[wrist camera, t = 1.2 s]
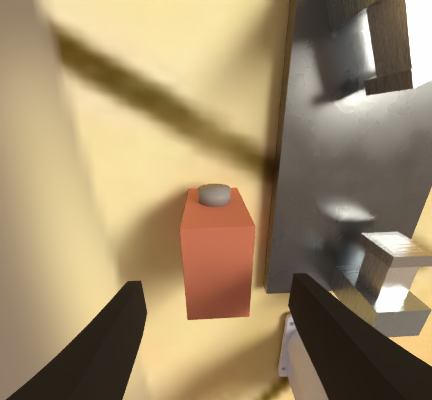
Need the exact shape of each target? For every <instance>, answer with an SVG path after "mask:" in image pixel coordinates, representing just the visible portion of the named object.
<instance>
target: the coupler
mask: <svg viewBox="0 0 432 400" xmlns="http://www.w3.org/2000/svg"><path fill="white" fill-rule="evenodd" d="M180 237H181V249H182V261H183V272H184V284H185V295H186V307H187V319H188V320H196V319H214V318H232V317H249V312H250V297H251V283H252V268H253V253H254V238H255V225H254V223H253V220H252V218H251V216H250V214H249V212H248V210H247V208H246V206H245V204H244V202H243V199H242V197H241V195H240V193H239V191H238V189H237V188H230V187H229V186H227V185H223V184H207V185H203V186H201V187H199V188H198V189H189V190H188V195H187V199H186V204H185V208H184V212H183V217H182V221H181V226H180Z"/></svg>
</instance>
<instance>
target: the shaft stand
mask: <svg viewBox="0 0 432 400" xmlns="http://www.w3.org/2000/svg"><path fill="white" fill-rule="evenodd" d="M431 187H432V0H290V8H289V18H288V29H287V40H286V50H285V61H284V71H283V82H282V93H281V103H280V114H279V125H278V135H277V146H276V156H275V167H274V178H273V188H272V199H271V209H270V220H269V231H268V241H267V252H266V263H265V273H264V284H263V286H264V288H265V291H266V294H271V293H290V292H291V285H292V279H293V273H307V274H308V275H309V276H310V277H312V278H313V279H314V280H315V281H316V282H318V283H319V284H320V285H321V286H322V287H323V288H325V289H326V290H327V291H331V290H332V291H333V292H334V294H335V295H336V296H337V298H338V299H339V300H340V302H342V303H343V304H344V305H345V306H346V307H348V308H349V309H350V310H351V311H353V312H354V313H355V314H357V315H358V316H359V317H360V318H362V319H363V320H364V321H366V322H367V323H368V324H370V325H371V326H372V327H374V328H375V329H376V330H378V331H379V332H381V333H382V334H383V335H385V336H386V337H400V336H417V335H419V333H420V332H421V330H422V328H423V326H424V324H425V322H426V320H427V318H428V316H429V314H430V312H431V309H430V308H429V307H428V306H426V305H425V304H424V303H423V302H422V301H421V300H419V299H418V298H417V297H416V296H415V295H413V294H412V293H411V292H410V291H409V289H410V286H411V284H412V282H413V279H414V277H415V275H416V273H417V270H418V268H419V267H424V266H432V251H430V250H428V249H427V248H425V247H423V246H422V245H420V244H418V243H416V242H415V241H413V240H411V238H412V235H413V233H414V230H415V228H416V225H417V223H418V220H419V218H420V215H421V212H422V210H423V207H424V205H425V202H426V200H427V197H428V195H429V192H430V189H431Z"/></svg>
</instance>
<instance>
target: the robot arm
mask: <svg viewBox="0 0 432 400" xmlns="http://www.w3.org/2000/svg"><path fill="white" fill-rule="evenodd" d="M288 306H289V309H290V312H291V313H290V314H288V315H287V316H286V321H285V327H284V333H283V340H282V346H281V352H280V359H279V365H278V375H279V376H281V377H286V376H288V379H289V382H290V385H291V389H292V392H293V395H294V398H295V400H432V366H430V365H428V364H427V363H425V362H424V361H422V360H421V359H419V358H417V357H416V356H414V355H413V354H411V353H410V352H408V351H407V350H405V349H404V348H402V347H401V346H399V345H398V344H396V343H395V342H393V341H392V340H390V339H389V338H388V337H386V336H385V335H383V334H382V333H381V332H379V331H378V330H376V329H375V328H374V327H372V326H371V325H370V324H368V323H367V322H366V321H364V320H363V319H362V318H360V317H359V316H358V315H357V314H355V313H354V312H353V311H351V310H350V309H349V308H348V307H346V306H345V305H344V304H343V303H342V302H340V301H339V300H338V299H337V298H335V297H334V296H333V295H332V294H331V293H329V292H328V291H327V290H326V289H325V288H323V287H322V286H321V285H320V284H319V283H318V282H316V281H315V280H314V279H313V278H312V277H310V276H309V275H308V274H307V273H293V279H292V285H291V292H290V298H289V304H288ZM146 316H147V309H146V304H145V299H144V293H143V288H142V283H141V281H128V282H127V283H126V284H125V285H124V286H123V287H122V288H121V289H120V290H119V291H118V293H117V294H116V295H115V296H114V297H113V298H112V300H111V301H110V302H109V303H108V304H107V305H106V306H105V307H104V308H103V309H102V310H101V312H99V314H98V315H97V316H96V317H95V318H94V319H93V320H92V321H91V322H90V323H89V324H88V325H87V327H85V328H84V329H83V330H82V331H81V332H80V333H79V334H78V335H77V337H75V338H74V339H73V340H72V341H71V343H69V344H68V345H67V346H66V347H65V348H64V349H63V350H62V351H61V352H60V353H59V354H58V355H57V356H56V357H55V358H54V359H53V360H52V361H51V362H49V363H48V364H47V365H46V366H45V367H44V368H43V369H42V370H40V371H39V372H38V373H37V374H36V375H35V376H34V377H33V378H32V379H30V380H29V381H28V382H27V383H26V384H24V385H23V386H22V387H21V388H20V389H18V390H17V391H16V392H15V393H13V394H12V395H11V396H10V397H9V398H7V399H6V400H122V399H123V396H124V393H125V390H126V386H127V384H128V380H129V377H130V374H131V371H132V368H133V365H134V362H135V359H136V355H137V352H138V349H139V346H140V343H141V339H142V336H143V331H144V326H145V321H146Z"/></svg>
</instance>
